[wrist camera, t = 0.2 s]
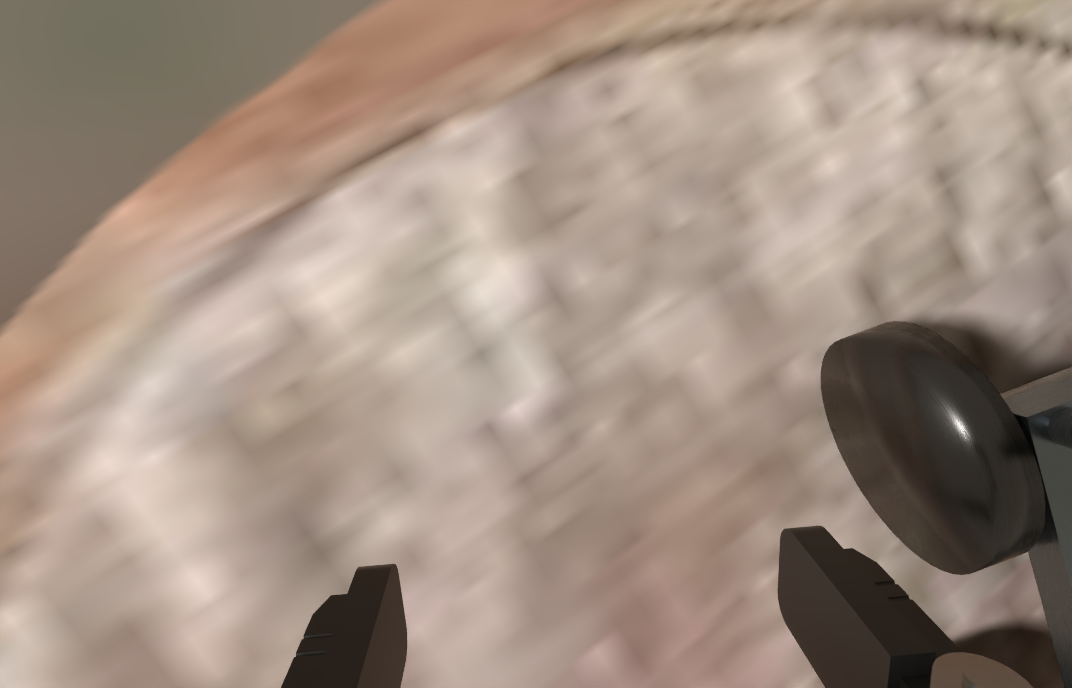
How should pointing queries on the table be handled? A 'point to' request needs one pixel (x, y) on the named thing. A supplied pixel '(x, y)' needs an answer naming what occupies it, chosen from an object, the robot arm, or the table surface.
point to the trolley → (958, 458)
